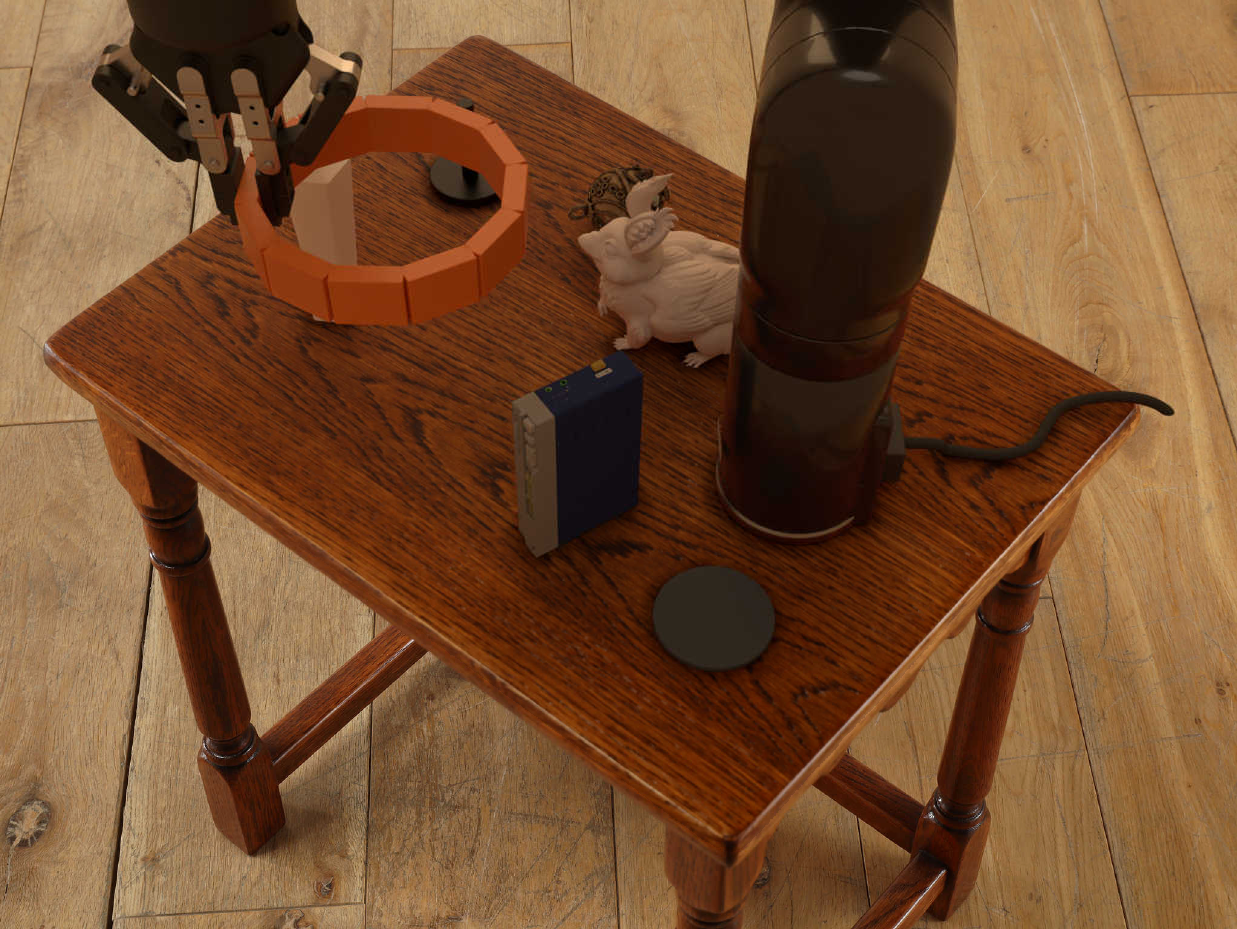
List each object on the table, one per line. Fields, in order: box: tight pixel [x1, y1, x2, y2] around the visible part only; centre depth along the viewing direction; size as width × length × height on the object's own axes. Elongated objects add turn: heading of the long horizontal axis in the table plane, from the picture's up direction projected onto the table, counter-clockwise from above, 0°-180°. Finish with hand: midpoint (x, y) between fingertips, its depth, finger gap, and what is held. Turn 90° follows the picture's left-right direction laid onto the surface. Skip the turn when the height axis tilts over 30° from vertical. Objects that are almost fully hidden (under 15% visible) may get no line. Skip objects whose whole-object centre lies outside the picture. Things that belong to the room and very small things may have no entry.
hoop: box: [234, 94, 531, 327], centre depth 78 cm, size 15×15×3 cm
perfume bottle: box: [289, 116, 358, 323], centre depth 95 cm, size 5×4×15 cm
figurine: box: [577, 172, 740, 369], centre depth 94 cm, size 8×15×13 cm, turn 95°
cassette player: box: [510, 349, 644, 559], centre depth 85 cm, size 7×2×12 cm, turn 124°
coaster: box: [652, 565, 776, 673], centre depth 85 cm, size 7×7×1 cm
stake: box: [428, 97, 501, 209], centre depth 106 cm, size 6×6×7 cm
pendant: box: [567, 162, 672, 231], centre depth 104 cm, size 5×8×5 cm, turn 113°
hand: (260, 215), depth 78 cm, fingers closed on hoop, 1 cm apart
